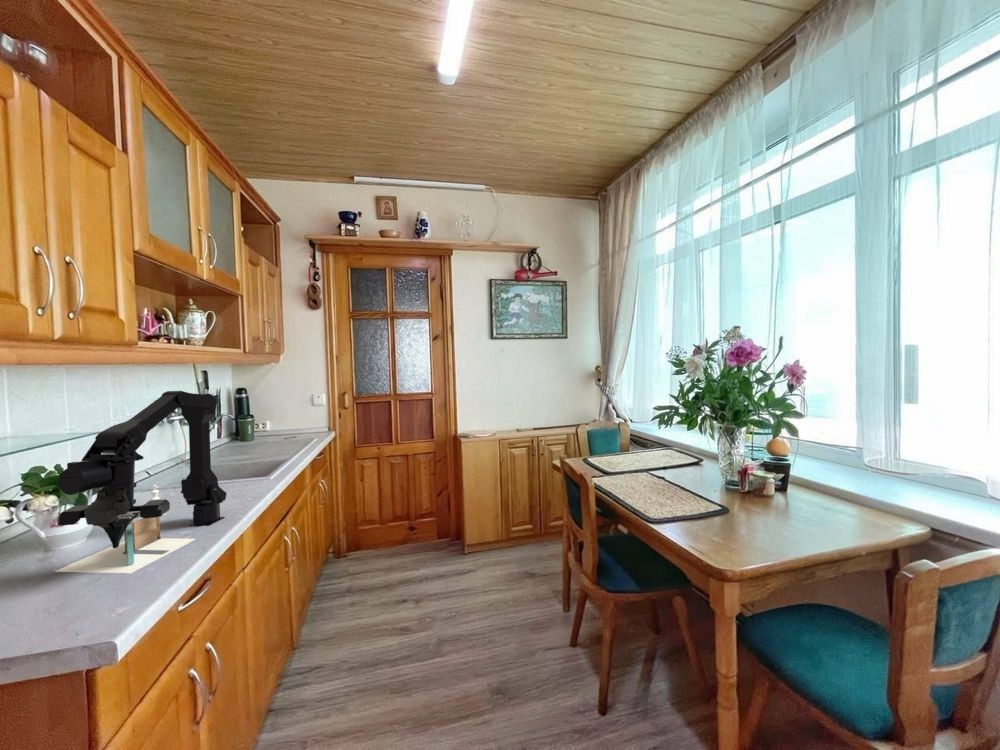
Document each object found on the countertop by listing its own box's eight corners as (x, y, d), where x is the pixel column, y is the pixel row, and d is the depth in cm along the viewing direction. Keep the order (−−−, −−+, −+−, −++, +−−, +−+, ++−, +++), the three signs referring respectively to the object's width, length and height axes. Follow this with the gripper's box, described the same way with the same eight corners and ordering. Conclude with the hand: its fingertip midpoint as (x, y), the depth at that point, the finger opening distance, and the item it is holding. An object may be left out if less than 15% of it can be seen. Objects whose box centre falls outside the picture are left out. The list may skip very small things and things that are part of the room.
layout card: (131, 539, 110) (131, 537, 110) (196, 540, 108) (195, 538, 108) (54, 573, 92) (54, 571, 92) (130, 575, 90) (130, 572, 90)
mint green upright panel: (126, 552, 100) (125, 525, 100) (132, 551, 101) (131, 524, 101) (128, 564, 94) (127, 535, 94) (134, 563, 94) (133, 534, 94)
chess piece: (149, 514, 129) (148, 483, 128) (168, 511, 130) (167, 482, 130) (142, 519, 124) (141, 488, 124) (161, 517, 126) (160, 486, 126)
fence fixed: (156, 537, 109) (155, 509, 109) (162, 537, 109) (160, 509, 109) (123, 553, 100) (122, 522, 100) (129, 553, 100) (128, 522, 100)
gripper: (40, 495, 83) (38, 569, 83) (151, 488, 90) (149, 556, 90) (74, 481, 93) (72, 547, 93) (171, 476, 100) (169, 537, 100)
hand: (115, 547), depth 94 cm, fingers closed
